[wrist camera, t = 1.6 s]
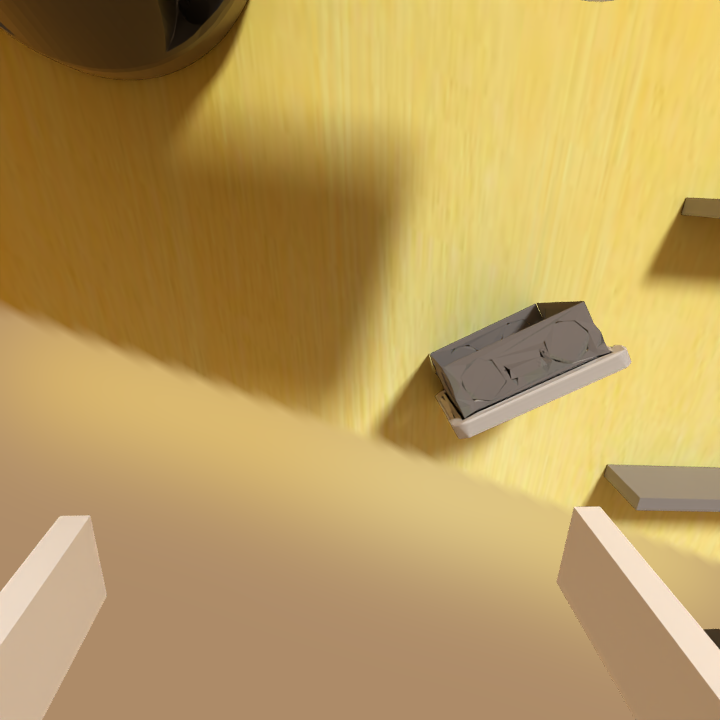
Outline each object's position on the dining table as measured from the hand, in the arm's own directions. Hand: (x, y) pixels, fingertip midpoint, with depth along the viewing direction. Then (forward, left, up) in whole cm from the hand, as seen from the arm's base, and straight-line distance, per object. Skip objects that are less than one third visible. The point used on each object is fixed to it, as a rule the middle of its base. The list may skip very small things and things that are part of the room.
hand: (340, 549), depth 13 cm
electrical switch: (0, +10, -19) cm, 22 cm away
